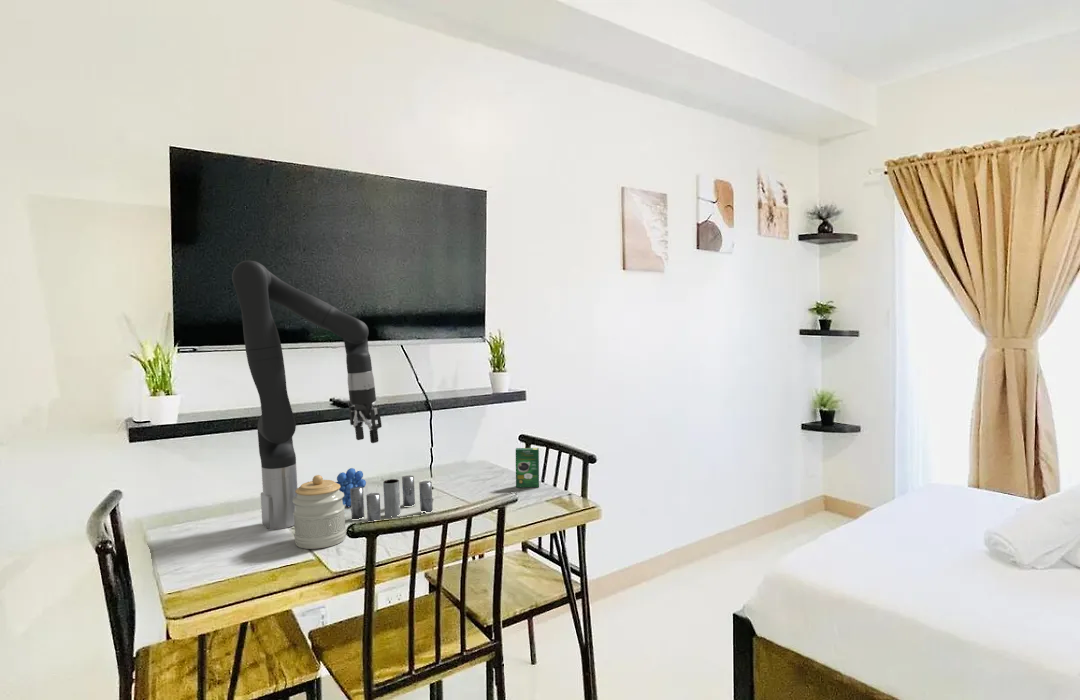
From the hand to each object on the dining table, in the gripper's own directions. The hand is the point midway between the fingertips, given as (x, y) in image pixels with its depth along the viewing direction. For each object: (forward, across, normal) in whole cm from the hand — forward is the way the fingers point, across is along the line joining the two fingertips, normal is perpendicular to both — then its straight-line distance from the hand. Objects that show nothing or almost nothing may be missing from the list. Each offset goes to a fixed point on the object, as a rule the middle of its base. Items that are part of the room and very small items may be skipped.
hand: (367, 441), depth 192 cm
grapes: (+22, -13, -2) cm, 25 cm away
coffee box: (+25, +15, +49) cm, 57 cm away
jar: (+21, +10, -22) cm, 32 cm away
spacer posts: (+22, +6, +2) cm, 23 cm away
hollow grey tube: (+22, +6, +2) cm, 23 cm away
